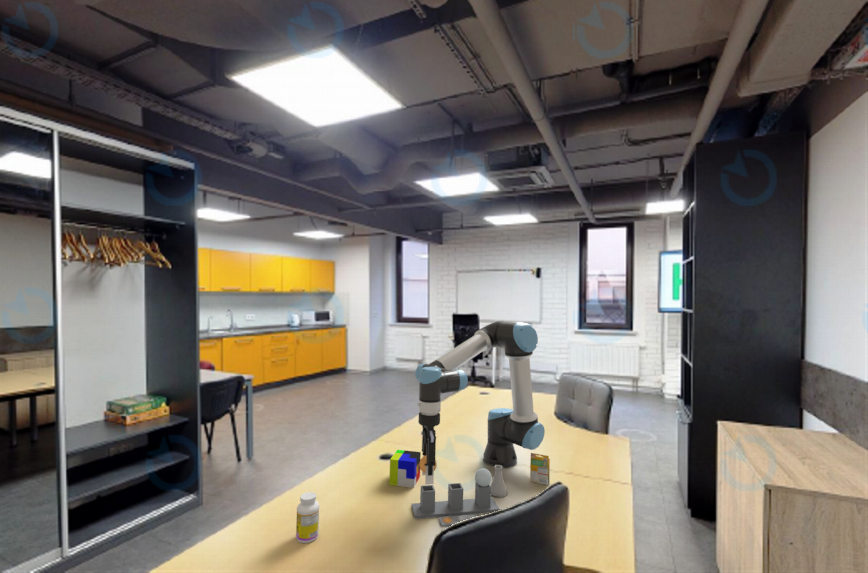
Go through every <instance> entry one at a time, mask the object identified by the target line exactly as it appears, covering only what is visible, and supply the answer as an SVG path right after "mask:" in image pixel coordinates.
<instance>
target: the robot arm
mask: <svg viewBox="0 0 868 573" xmlns="http://www.w3.org/2000/svg"><path fill="white" fill-rule="evenodd" d="M473 334H474V335H473V336H472V337H469V338H468V339H466V340H465V341H463V342H461V343H460V344H458V345H457V346H455V347H453V349H451V350H449V351H448V352H446V353H444V354H443V355H441V356H440V357H438V358H437V359H435V360H434V361H432V362H430V363H421V364H419V365H418V366H417V367H416V368H415V374H414V376H415V379H416V380H417V381H418V384H419V387H418V392H419V393H418V394H419V395H418V397H419V398H418V400H419V402H418V403H416V405H417V406H418V424H419V426H421V427H422V432H421V433H422V434H421V437H422V438H421V452H422V457H423V456H425V455H426V458H427V463H426V464H424V465H425V466H426V473H423V472H422V471H421V475H422V476H424V479H425V481H424V483H425V484H424V485H434V480H435V478H434V476H435V475H434V473H435V471H434V466H435V464H436V463H437V462H436V463H435V460H436V451H437V450H436V447H437V446H436V445H437V436H436V432H437V431H436V429H435V427H437V426H439V425H440V424H441V414H440V412H441V402H442V401H441V398H442V397H441V396H442V394H447V393H453V392H454V393H455V392H459V391H462V390H465V389H466V388H467V386H468V382H469V380H468V375H467V374H466V372H465V371H464V370H463V369H458V368H460V367H461V366H463V365H465V364H466V363H468V362H469V361H471V360H472V359H474V358H475V357H477V356H478V355H480V353H482V352H485V351H487V352H488V351H489V350H491V349H493V348H501V349H504V355H505V357H506V358H508V363H509V364H508V365H509V375H510V386H511V387H510V388H511V389H510V390H511V401H512V408H505V407H504V408H503V407H499V408H493V409H491V410H489V411H488V413H487V414H488V415H487V416H488V417H487V443H486V445H485V449H484V451H483V454H482V455H483V456H482V457H483V458H482V459H483V462H484V463H486V464H487V465H489V466H492V467H494V466H495V465H501V466H502V467H503V468H510V467H513V466H515V465H517V463H518V457H517V452H516V449H515V446H514V445H516V446H519V447H521V448H523V449H525V450H531V451H534V450H536V449H537V448H539V447H540V445H541V444H542V442H543V440H544V438H545V434H546V432H545V431H546V429H545V426H544V424H542V423H541V422H539V417H538V414H537V413H536V412H535V411H534V398H533V387H532V385H533V384H532V375H531V360H530V358H531V357H532V355H533V354H534V353H533V352H534V351H535V350H536V349H537V347H538V346H537V345H538V343H539V342H538V340H539V338H538V333H537V331H536V328H534V327H533V325H531V324H530V323H526V322H522V321H521V322H520V321H506V320H498V321H493V322H490V323H489V324H487V325H485V326H483V327H481V328H480V329H478V330H476V331H475V332H474V333H473Z"/></svg>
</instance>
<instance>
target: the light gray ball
mask: <svg viewBox="0 0 868 573" xmlns="http://www.w3.org/2000/svg"><path fill="white" fill-rule="evenodd" d="M492 480H493V478H492V473H491V472H490V471H489V469H487V468H483V467H481V468H478V469H477V470H476V471H475V473H474V481H475V482H476V483H477V484H478V485H479V486H482V487H486V486H488V485H491V483H492Z"/></svg>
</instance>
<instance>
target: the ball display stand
mask: <svg viewBox="0 0 868 573" xmlns="http://www.w3.org/2000/svg"><path fill="white" fill-rule="evenodd" d="M447 484H448V486H447V487H448V488H447V490H448V491H447V500H441V501H436V489H435V486H434V484H424V485H420V491H419V492H420V495H419V496H420V497H419V498H420V499H419V500H420V501H419V502H417V503H415V502H414V503H411V509H412V514H413V518H414V520H419V519H431V518H432V519H433V518H439V517H450V516H462V515H474V514H479V515H480V514H489V513H490V514H491V512H492V513H495V512H494V511H498V510H500V511H501V509H500V507H499V506H498V504H497V502H496V500H494V497H491V496H492V495H491V484H489V485H488V486H486V487H482V486H479V485H478V484H477V483H476V481H475V484H474V485H475V487H474V498H467V499H464V487H463V485H462V483H461V482H453V483H447Z"/></svg>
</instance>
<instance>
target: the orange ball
mask: <svg viewBox="0 0 868 573" xmlns="http://www.w3.org/2000/svg"><path fill="white" fill-rule="evenodd" d="M426 463H427V458H426V455H425V456H423V455H422V457H420V463H419V466H420V472H421V473H422V472H423V473H426V466H425V465H424V464H426ZM435 463H436V464H435V466H434V472H435V471H436V469H437V465H438V464H437V461H436V459H435Z"/></svg>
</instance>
